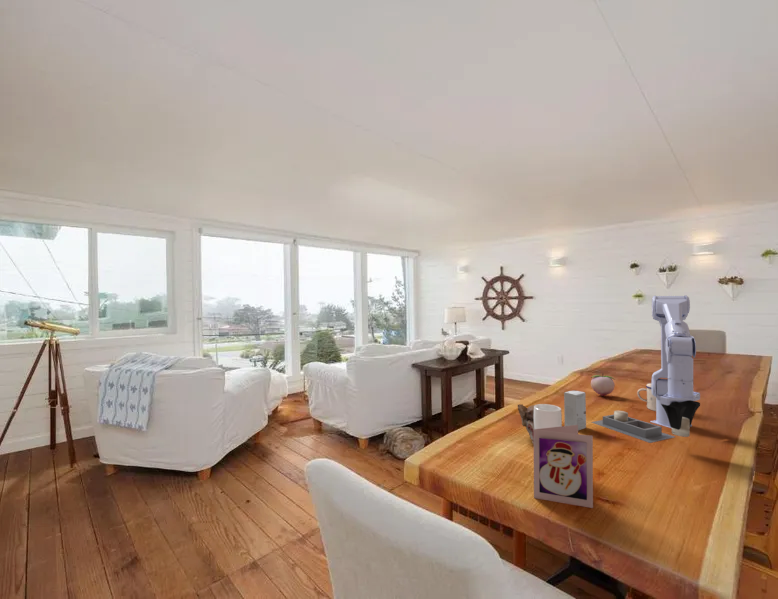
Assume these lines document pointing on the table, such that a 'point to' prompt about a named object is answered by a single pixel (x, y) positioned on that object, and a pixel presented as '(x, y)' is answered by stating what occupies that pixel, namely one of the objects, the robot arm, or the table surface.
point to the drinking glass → (547, 416)
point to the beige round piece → (621, 416)
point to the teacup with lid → (648, 397)
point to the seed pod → (527, 419)
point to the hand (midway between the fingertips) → (680, 427)
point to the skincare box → (575, 409)
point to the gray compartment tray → (634, 428)
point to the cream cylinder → (683, 428)
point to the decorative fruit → (602, 384)
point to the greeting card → (563, 465)
